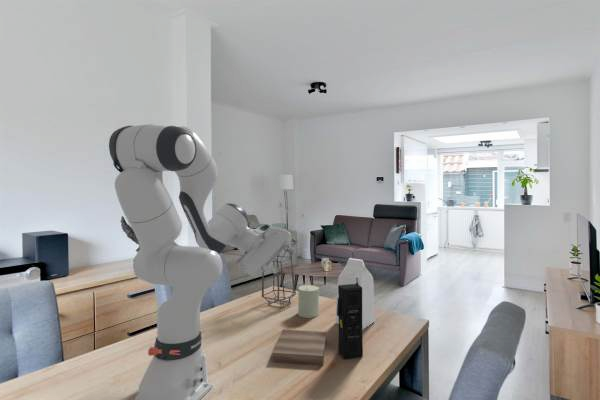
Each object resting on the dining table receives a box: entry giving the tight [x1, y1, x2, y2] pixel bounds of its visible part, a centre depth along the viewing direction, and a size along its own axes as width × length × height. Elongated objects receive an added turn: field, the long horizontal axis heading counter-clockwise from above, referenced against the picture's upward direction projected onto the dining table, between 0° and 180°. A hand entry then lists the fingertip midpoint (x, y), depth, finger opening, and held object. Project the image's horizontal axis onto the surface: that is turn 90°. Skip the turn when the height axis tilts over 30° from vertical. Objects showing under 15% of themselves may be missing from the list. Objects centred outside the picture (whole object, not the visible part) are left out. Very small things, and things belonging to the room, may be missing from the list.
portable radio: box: [336, 279, 364, 360], centre depth 113 cm, size 8×6×25 cm
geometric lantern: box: [261, 237, 299, 309], centre depth 163 cm, size 16×16×35 cm
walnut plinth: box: [272, 329, 327, 366], centre depth 117 cm, size 18×16×3 cm
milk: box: [335, 257, 376, 331], centre depth 141 cm, size 12×12×26 cm
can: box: [297, 284, 320, 319], centre depth 150 cm, size 9×9×12 cm
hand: (286, 261), depth 113 cm, fingers open, 8 cm apart
